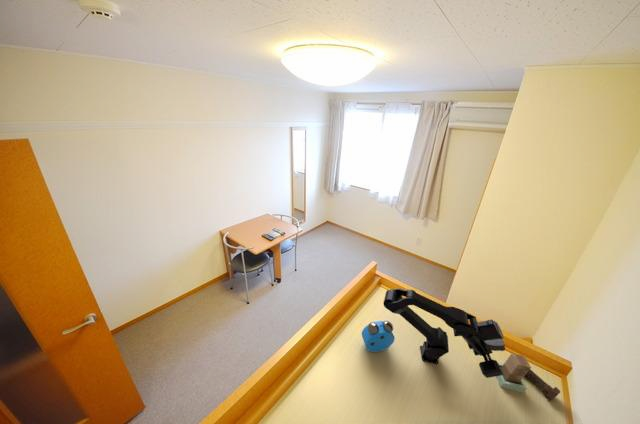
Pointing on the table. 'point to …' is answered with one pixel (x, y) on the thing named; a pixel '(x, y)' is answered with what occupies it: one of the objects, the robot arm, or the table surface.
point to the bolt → (543, 385)
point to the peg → (515, 368)
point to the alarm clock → (378, 336)
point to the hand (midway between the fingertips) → (492, 362)
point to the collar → (509, 385)
